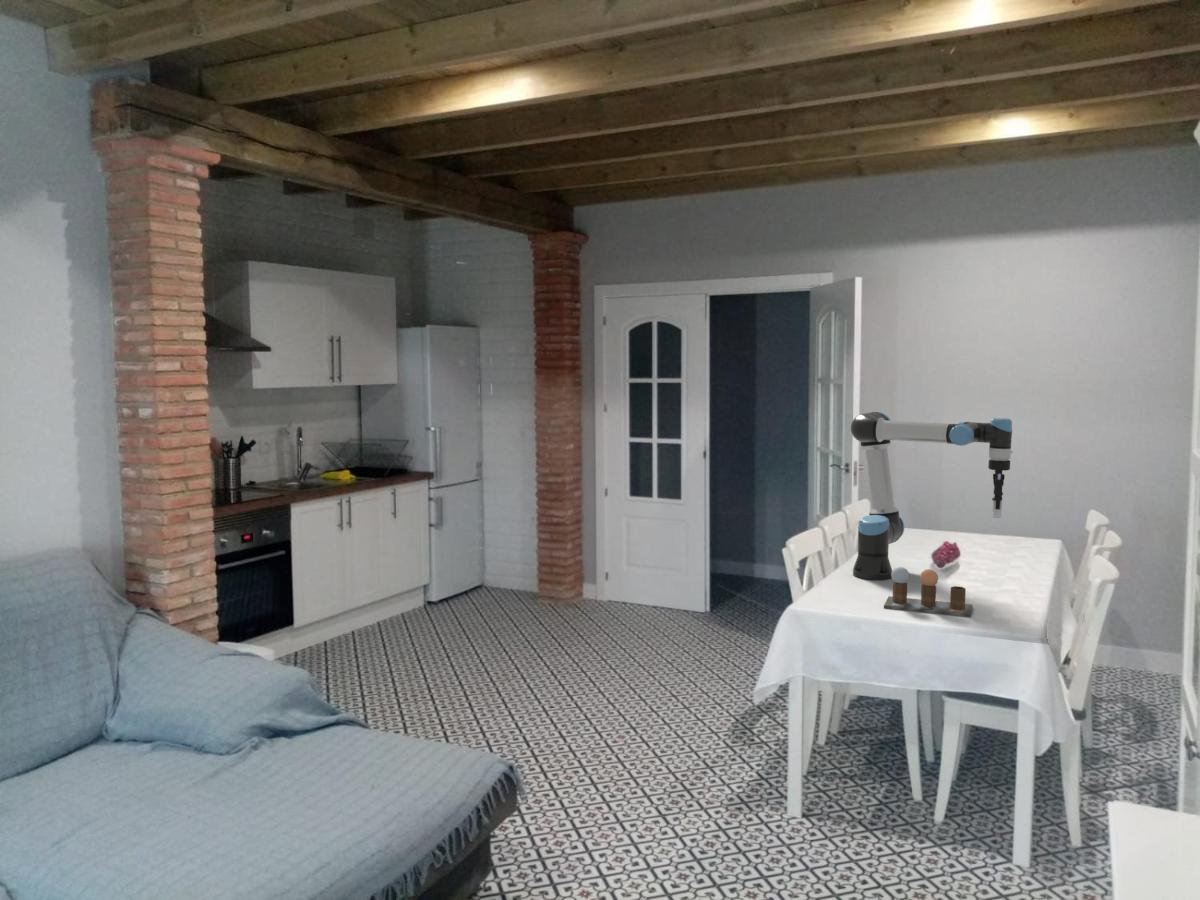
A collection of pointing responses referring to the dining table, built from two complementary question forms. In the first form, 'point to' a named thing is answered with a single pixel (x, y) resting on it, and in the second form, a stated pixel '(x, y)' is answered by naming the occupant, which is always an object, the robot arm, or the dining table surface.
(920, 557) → the dining table surface
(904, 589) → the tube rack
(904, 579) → the ball grey
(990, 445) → the robot arm
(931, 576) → the ball terracotta
